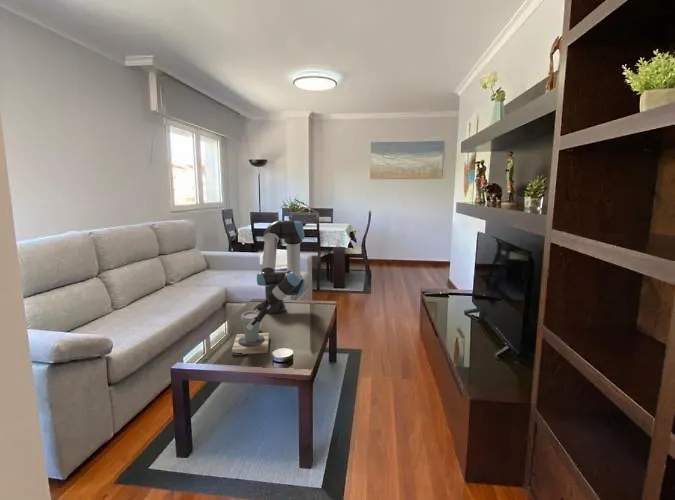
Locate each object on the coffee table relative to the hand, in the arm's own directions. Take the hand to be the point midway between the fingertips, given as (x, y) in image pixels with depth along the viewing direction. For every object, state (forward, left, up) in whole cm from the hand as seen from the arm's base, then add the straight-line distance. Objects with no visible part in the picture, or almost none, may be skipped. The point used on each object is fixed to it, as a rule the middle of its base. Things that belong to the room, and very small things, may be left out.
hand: (249, 323), depth 193 cm
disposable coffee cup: (0, +1, -10) cm, 10 cm away
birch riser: (0, +1, -13) cm, 13 cm away
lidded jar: (-19, 0, -13) cm, 23 cm away
